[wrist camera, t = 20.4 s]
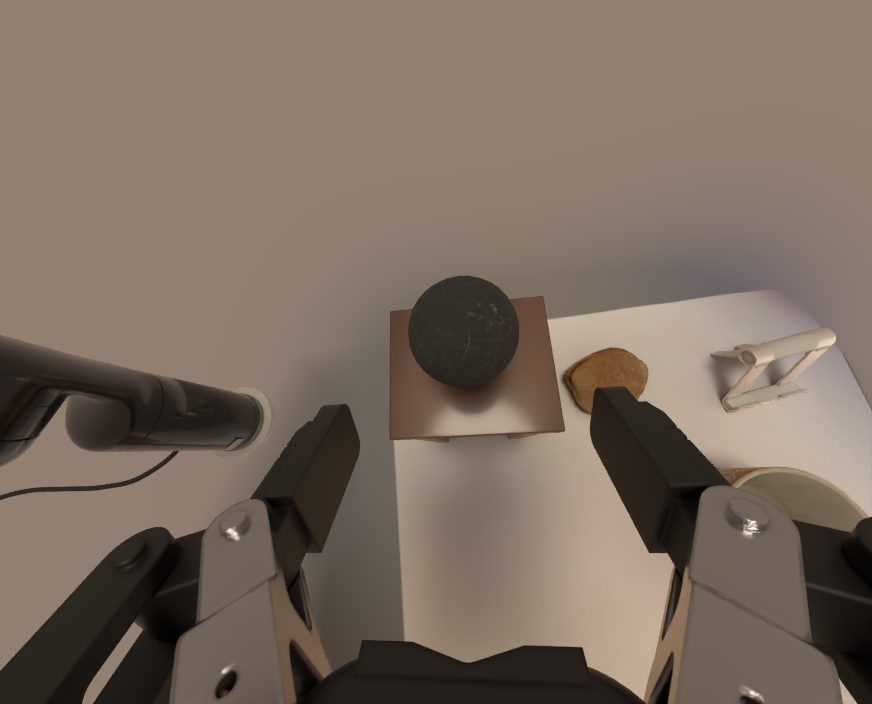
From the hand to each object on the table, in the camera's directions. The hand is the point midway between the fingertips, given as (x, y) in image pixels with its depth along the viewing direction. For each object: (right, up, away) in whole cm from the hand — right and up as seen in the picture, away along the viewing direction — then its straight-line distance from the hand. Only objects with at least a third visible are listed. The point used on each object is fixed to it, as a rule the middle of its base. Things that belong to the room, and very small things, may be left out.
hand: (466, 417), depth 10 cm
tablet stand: (+40, -1, +31) cm, 51 cm away
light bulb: (+1, +1, +12) cm, 13 cm away
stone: (+23, -3, +34) cm, 41 cm away
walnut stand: (+5, -6, +35) cm, 36 cm away
